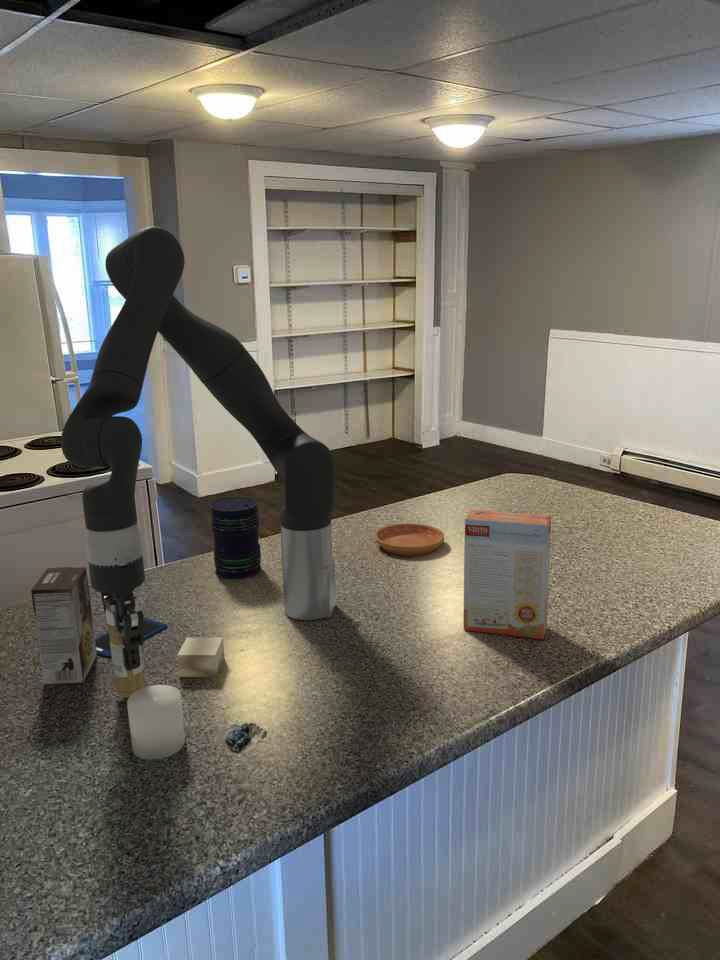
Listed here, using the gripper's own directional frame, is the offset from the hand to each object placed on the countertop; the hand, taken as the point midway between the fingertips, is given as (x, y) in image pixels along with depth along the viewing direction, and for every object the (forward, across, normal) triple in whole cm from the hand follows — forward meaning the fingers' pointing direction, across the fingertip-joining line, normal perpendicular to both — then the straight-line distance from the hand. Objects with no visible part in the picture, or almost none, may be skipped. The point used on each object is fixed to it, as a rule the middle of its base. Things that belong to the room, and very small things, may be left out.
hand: (127, 660), depth 117 cm
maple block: (+6, -3, +12) cm, 14 cm away
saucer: (+7, -30, +73) cm, 79 cm away
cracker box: (+7, +15, +62) cm, 64 cm away
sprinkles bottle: (+5, 0, 0) cm, 5 cm away
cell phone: (+7, -20, +5) cm, 22 cm away
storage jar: (+6, -38, +34) cm, 51 cm away
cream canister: (+6, +14, -1) cm, 15 cm away
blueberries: (+7, +20, +9) cm, 23 cm away
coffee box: (+6, -14, -6) cm, 16 cm away
